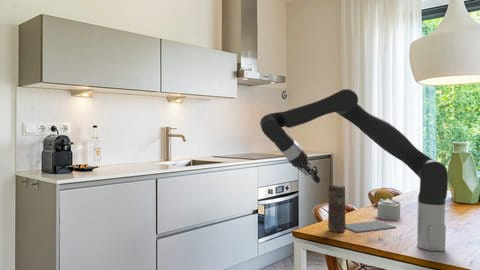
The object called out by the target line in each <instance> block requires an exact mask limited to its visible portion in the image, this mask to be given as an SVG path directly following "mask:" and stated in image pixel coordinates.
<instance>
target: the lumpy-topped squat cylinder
mask: <svg viewBox="0 0 480 270" xmlns="http://www.w3.org/2000/svg"><path fill="white" fill-rule="evenodd" d="M376 214H377V215H376V216H377V218H379V219H382V220H383V219H385V220H391V221H398V220H399V219H400V218H401V202H400V201H399V200H396V199H393V198H392V200H391V201H390V200H389V199H386V200H385V201H384V200H383V199H380V200H379V202H378V206H377V212H376Z"/></svg>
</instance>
